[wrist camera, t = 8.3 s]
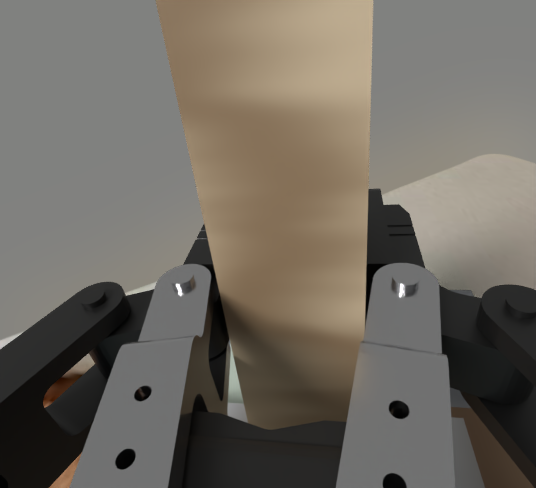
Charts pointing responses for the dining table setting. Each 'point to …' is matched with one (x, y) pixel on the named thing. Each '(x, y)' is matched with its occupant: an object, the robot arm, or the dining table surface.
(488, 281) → the dining table surface
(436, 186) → the dining table surface
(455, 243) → the dining table surface
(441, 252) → the dining table surface
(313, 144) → the scraper
